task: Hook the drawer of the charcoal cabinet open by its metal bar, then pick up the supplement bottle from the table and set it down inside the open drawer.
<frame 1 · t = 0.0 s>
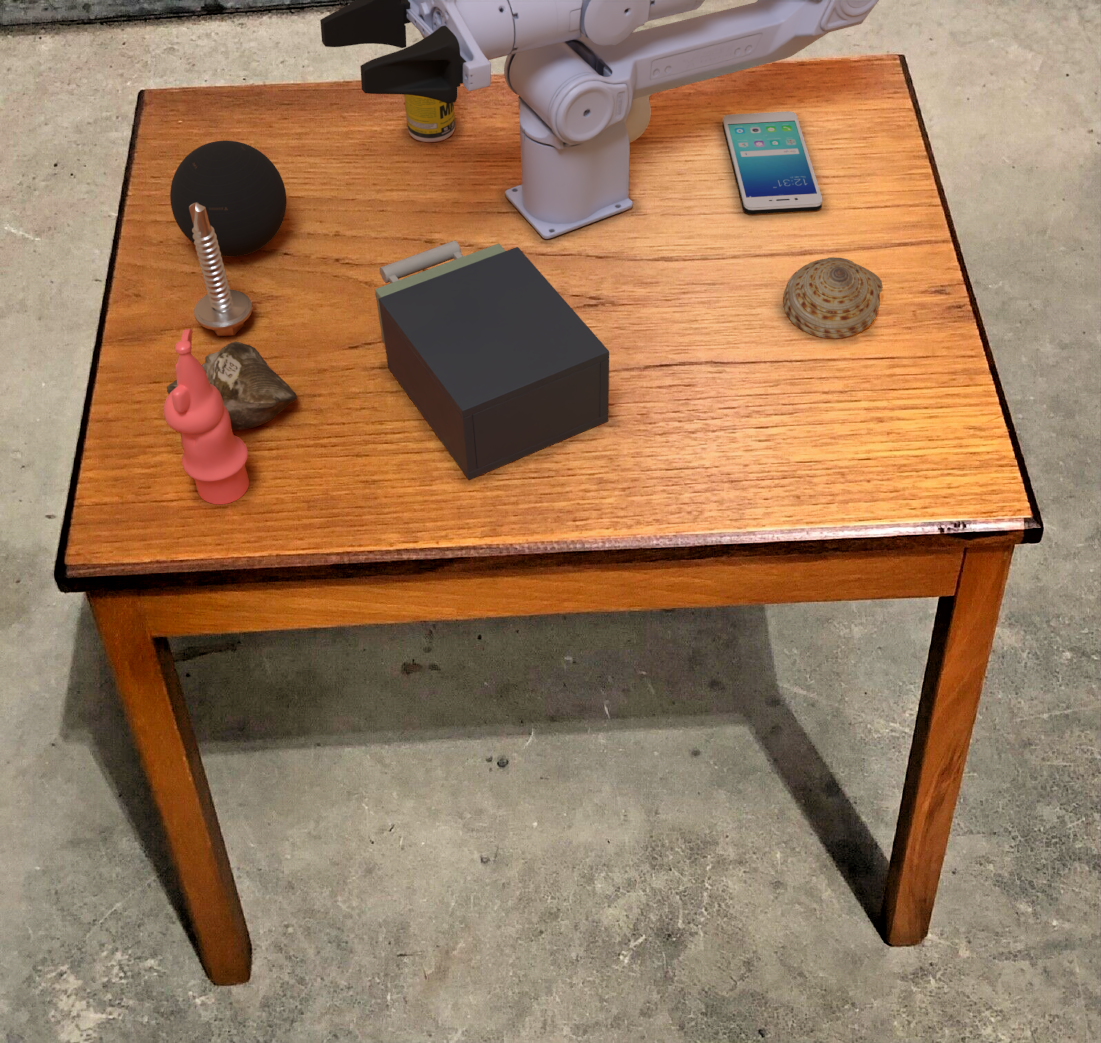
hand: (342, 56, 111), 21 cm above the table, tool horizontal, fingers open, 7 cm apart
screw: (228, 328, 123), on the table
drawer: (465, 324, 117), point 4 cm above the table, slide at 1.0 cm
cabinet: (496, 394, 117), on the table
figurine: (222, 486, 111), on the table
fossilized seashell: (238, 412, 116), on the table
smartphone: (770, 166, 136), on the table
seashell: (830, 306, 123), on the table
supplement bottle: (432, 131, 141), on the table
figurine 2: (619, 141, 140), on the table, touching arm
speaker: (239, 246, 130), on the table
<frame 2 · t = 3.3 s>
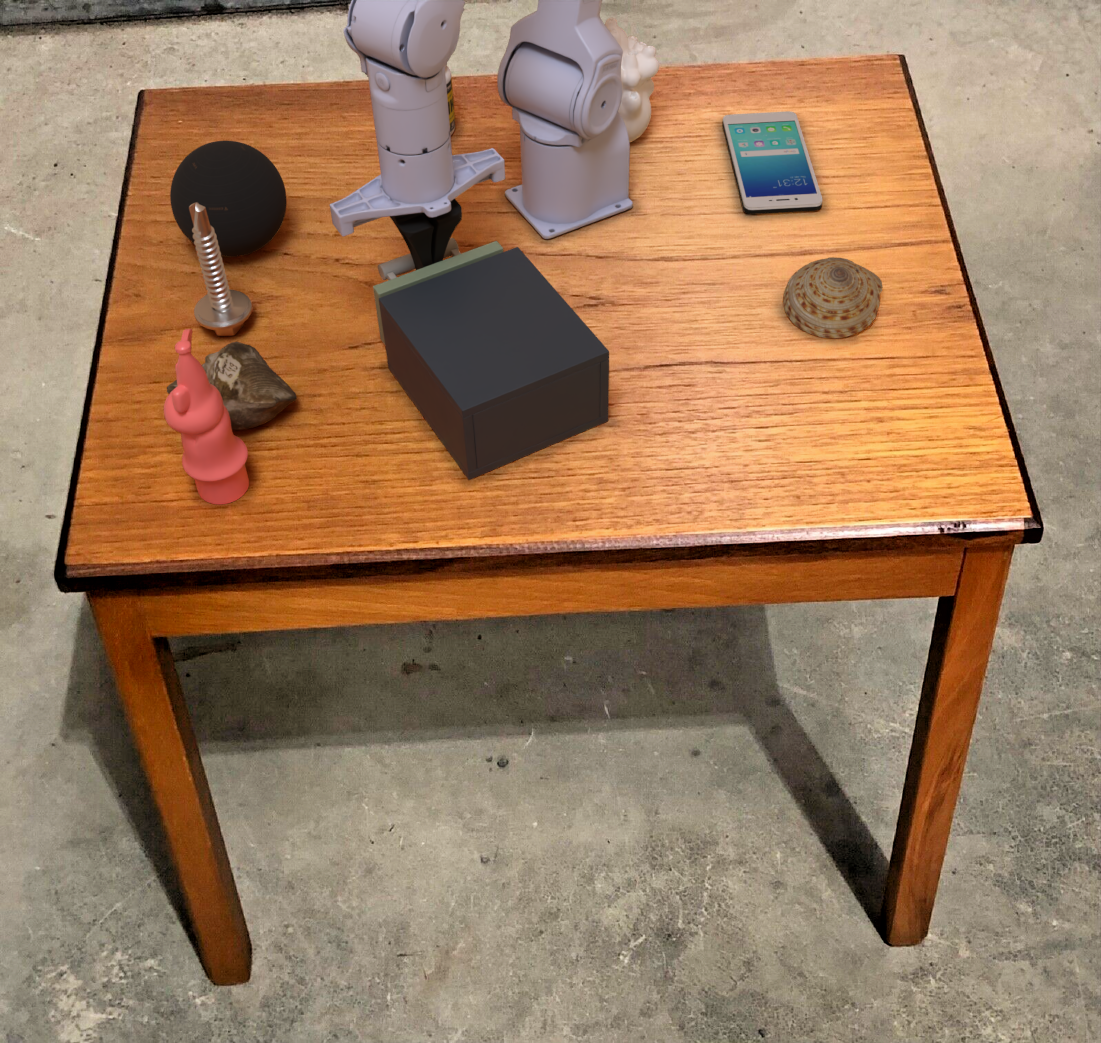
hand: (427, 272, 120), 4 cm above the table, tool pointing down, fingers closed
drawer: (463, 321, 117), point 4 cm above the table, slide at 1.4 cm
figurine 2: (619, 141, 140), on the table
everything else where it was.
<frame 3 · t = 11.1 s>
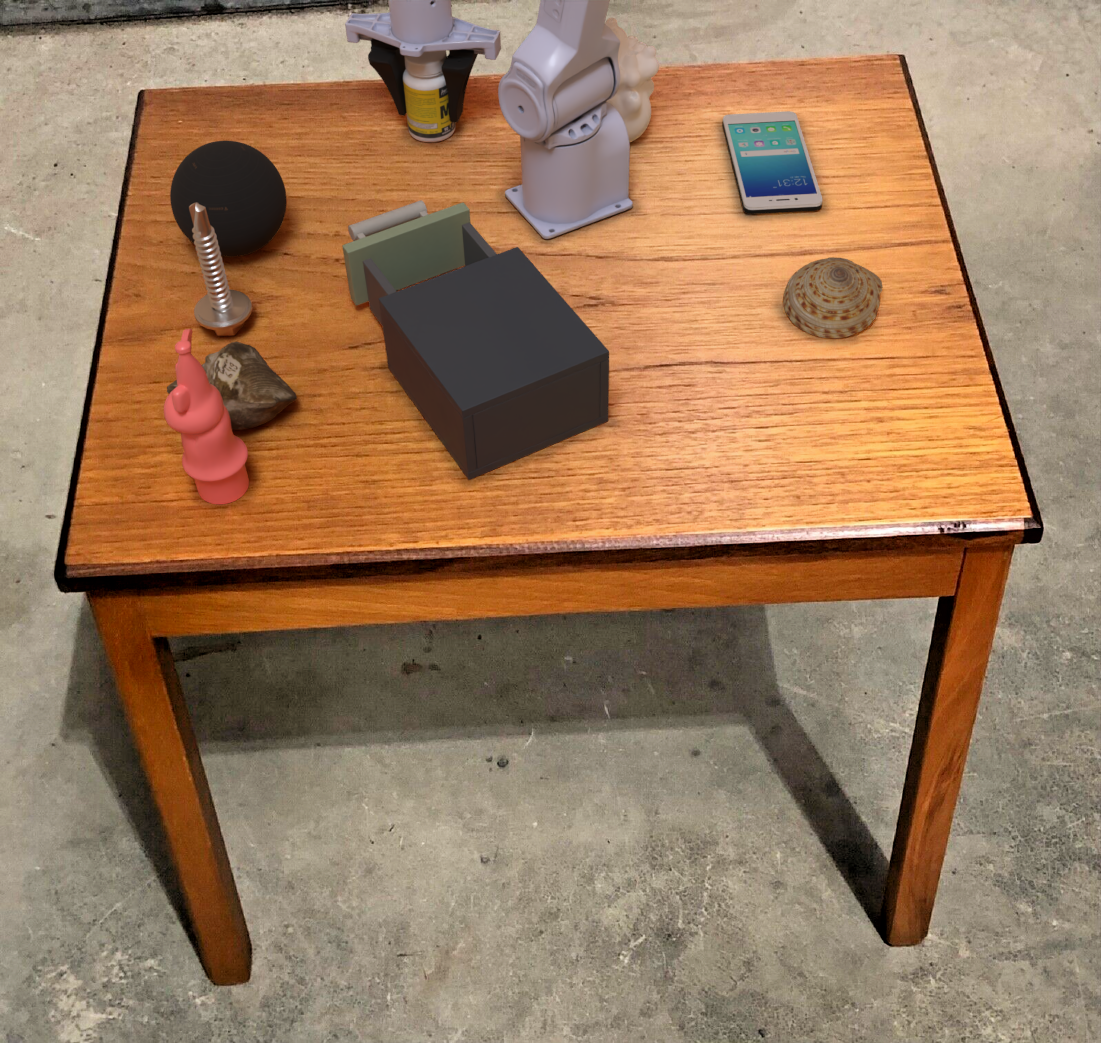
hand: (430, 113, 140), 2 cm above the table, tool pointing down, fingers closed on supplement bottle, 5 cm apart
drawer: (430, 280, 121), point 4 cm above the table, slide at 7.5 cm
supplement bottle: (432, 131, 141), on the table, touching gripper
everything else where it was.
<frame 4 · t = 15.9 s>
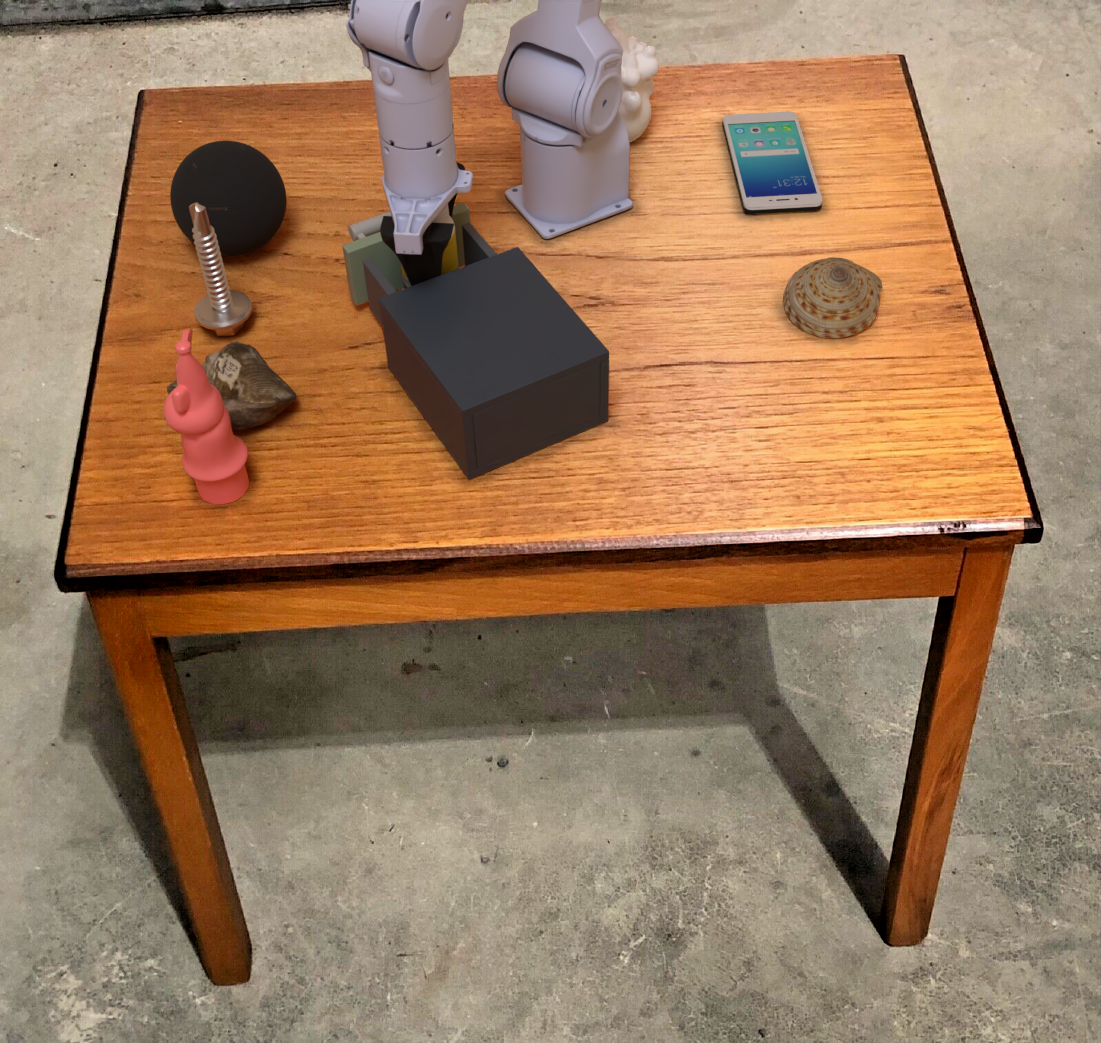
hand: (430, 268, 119), 5 cm above the table, tool pointing down, fingers closed on supplement bottle, 5 cm apart
supplement bottle: (432, 287, 121), point 3 cm above the table, touching gripper
everything else where it was.
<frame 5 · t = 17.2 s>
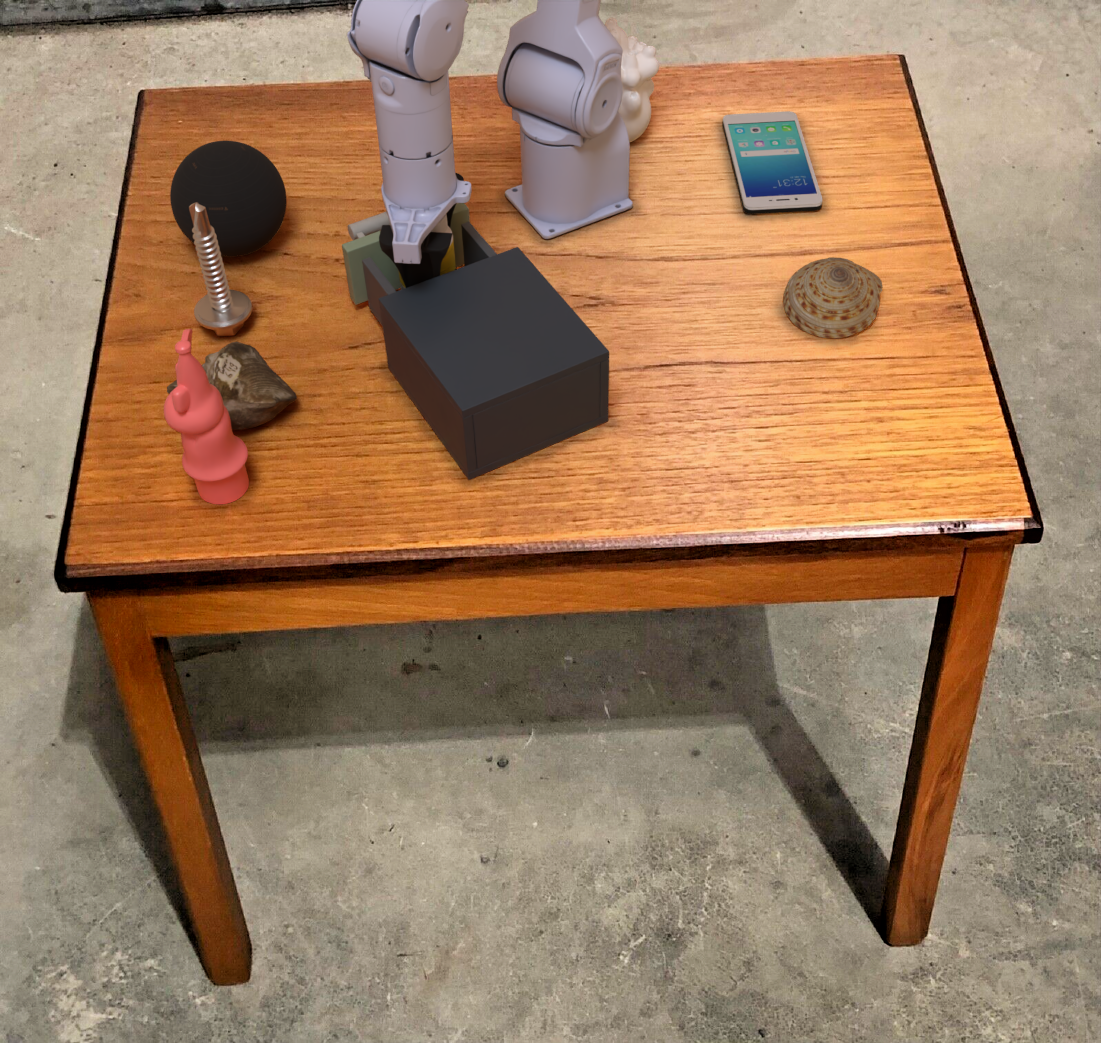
hand: (428, 278, 120), 4 cm above the table, tool pointing down, fingers closed on supplement bottle, 4 cm apart
drawer: (429, 279, 121), point 4 cm above the table, slide at 7.6 cm, touching gripper
supplement bottle: (429, 296, 121), point 2 cm above the table, touching gripper
everything else where it was.
when the fingers open (5 cm above the table, at t = 20.9 s): supplement bottle stays where it is, resting on drawer.
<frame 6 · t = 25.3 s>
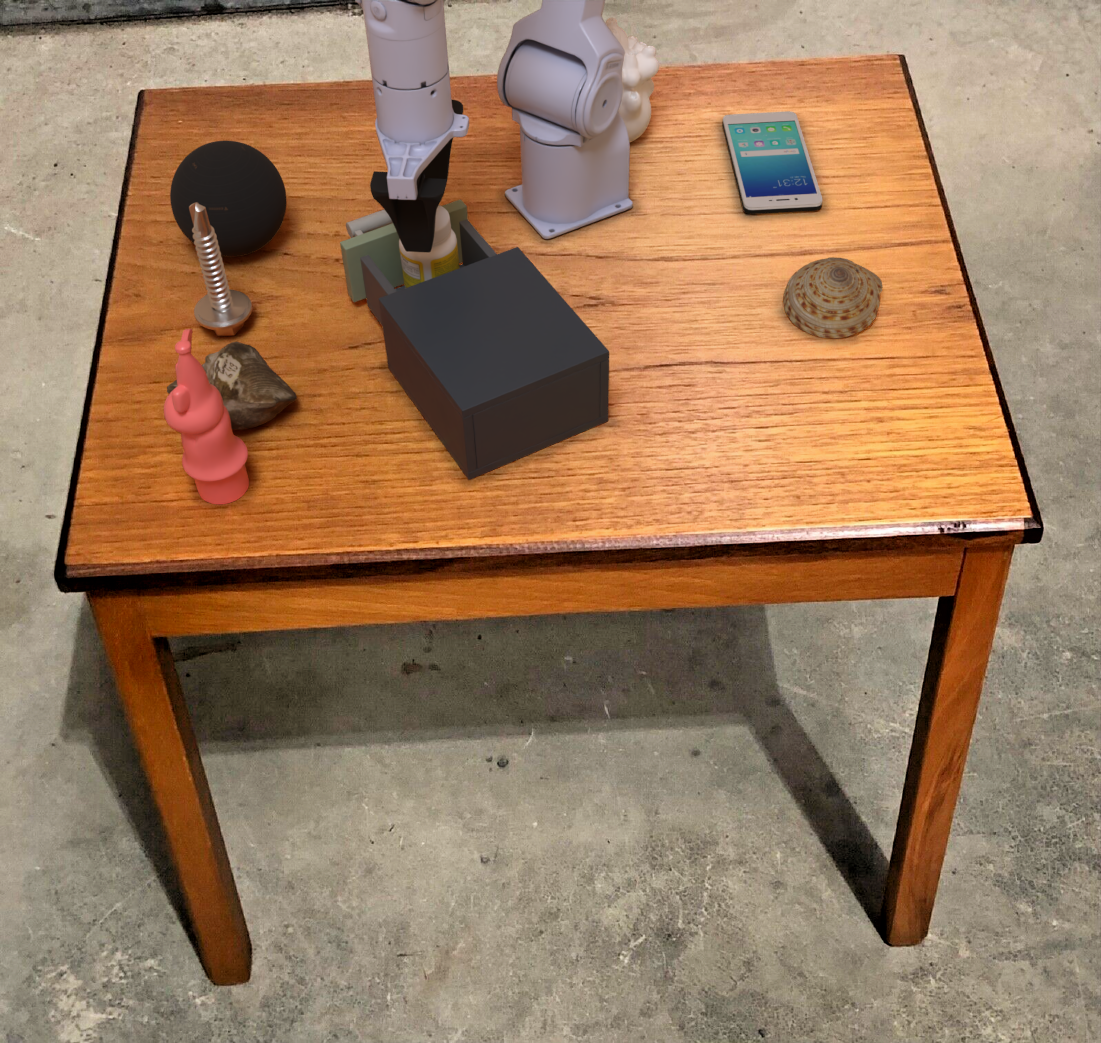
hand: (425, 219, 115), 10 cm above the table, tool pointing down, fingers open, 7 cm apart
drawer: (427, 276, 121), point 4 cm above the table, slide at 8.0 cm, touching supplement bottle
supplement bottle: (434, 299, 122), point 2 cm above the table, touching drawer
everything else where it was.
at the end: drawer slide at 8.0 cm; supplement bottle inside the target area in the drawer (3.9 cm from its centre), point 1.8 cm above the cabinet's base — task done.
